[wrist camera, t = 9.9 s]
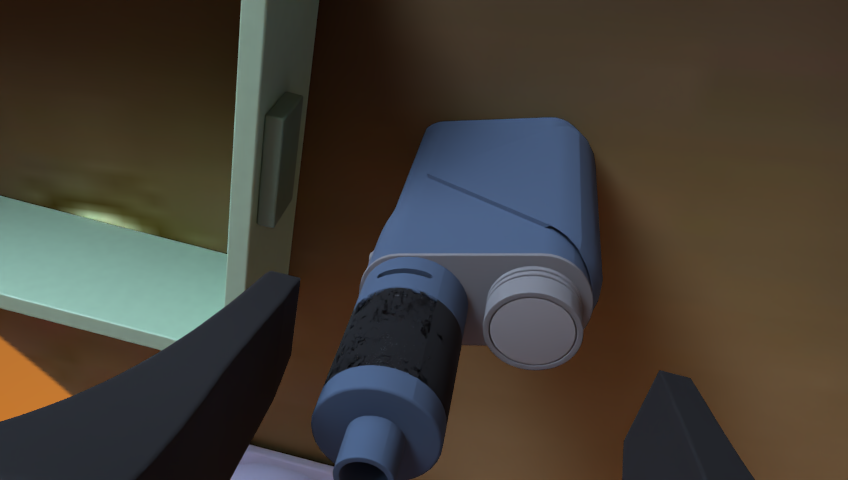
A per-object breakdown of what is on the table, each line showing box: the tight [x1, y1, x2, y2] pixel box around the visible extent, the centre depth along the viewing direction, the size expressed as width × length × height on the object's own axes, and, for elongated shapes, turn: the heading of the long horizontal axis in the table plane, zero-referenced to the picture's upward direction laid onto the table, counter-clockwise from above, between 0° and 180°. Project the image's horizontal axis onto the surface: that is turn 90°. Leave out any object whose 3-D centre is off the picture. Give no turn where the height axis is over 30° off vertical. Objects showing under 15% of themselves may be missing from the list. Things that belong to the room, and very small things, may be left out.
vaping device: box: [311, 117, 603, 480], centre depth 17 cm, size 3×5×12 cm, turn 96°
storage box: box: [0, 0, 319, 350], centre depth 21 cm, size 13×16×4 cm
